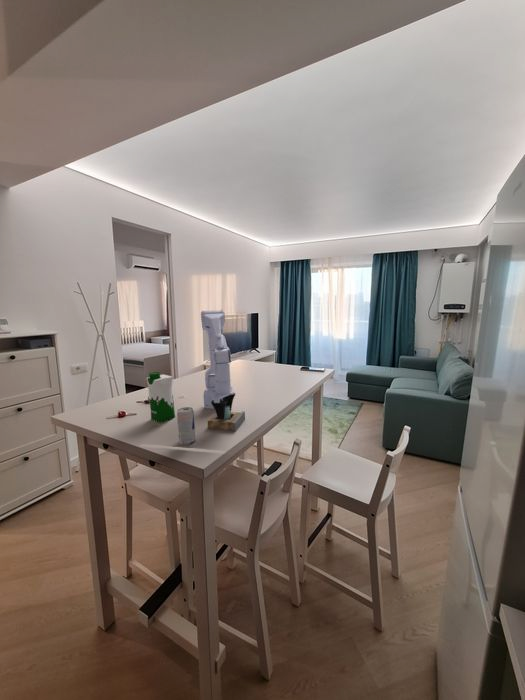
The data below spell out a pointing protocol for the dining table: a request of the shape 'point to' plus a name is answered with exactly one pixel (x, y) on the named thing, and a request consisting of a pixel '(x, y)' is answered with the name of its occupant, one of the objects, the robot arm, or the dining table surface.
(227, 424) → the socket block
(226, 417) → the dowel
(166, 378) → the milk carton
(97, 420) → the dining table surface
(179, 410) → the energy drink
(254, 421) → the dining table surface
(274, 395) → the dining table surface
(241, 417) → the board
